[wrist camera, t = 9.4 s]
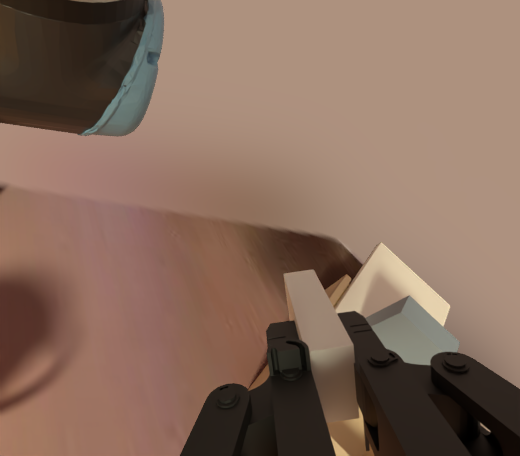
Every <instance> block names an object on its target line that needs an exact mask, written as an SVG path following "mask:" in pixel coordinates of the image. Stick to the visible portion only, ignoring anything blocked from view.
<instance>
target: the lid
mask: <svg viewBox="0 0 520 456" xmlns="http://www.w3.org/2000/svg"><path fill="white" fill-rule="evenodd" d="M334 309H335V311H336V313H343V312H350V311H356V312H358V313H359V314H361V315H363V316H364V317H365V319H366V320H367V322H368V323H369V325H370V326H371V327H372V329H373V331H374V332H375V333H376V335H377V336H378V338H379V339H380V341H381V342H382V344H383V345H384V347H385V348H386V349H389V350H391V351H393V352H396V353H397V354H398V355H399V356H400V357H401V358H402V359H403V361H404V362H406V363H411V364H420V365H430V360H431V358H432V357H433V356H434V355H436V354H437V353H441V352H457V351H458V347H459V344H460V342H459V341H458V340H456V338H455V337H454V336H453V335H451V334H450V333H449V332H448V331H447V330H446V329H445V328H444V327H443V326H444V323H445V321H446V318H447V315H448V312H449V309H450V305H449V304H448V303H447V302H446V301H445V300H444V299H442V298H441V297H440V296H439V295H438V294H437V293H436V292H435V291H434V290H433V289H431V288H430V287H429V286H428V285H427V284H426V283H425V282H424V281H423V280H422V279H421V278H420V277H419V276H417V275H416V274H415V273H414V272H413V271H412V270H411V269H410V268H409V267H408V266H407V265H406V264H405V263H403V262H402V261H401V260H400V259H399V258H398V257H397V256H396V255H395V254H394V253H393V252H391V251H390V250H389V249H388V248H387V247H386V246H385V245H384V244H383V243H382V242H380V243H379V244H378V245H376V247H375V249H374V250H373V251H372V253H371V254H370V256H369V257H368V259H367V260H366V261H365V263H364V264H363V266H362V267H361V269H360V270H359V272H358V273H357V275H356V276H355V278H354V279H353V281H352V282H351V284H350V285H349V286H348V288H347V289H346V291H345V292H344V294H343V295H342V297H341V298H340V300H339V301H338V303H337V304H336V306H335V307H334Z"/></svg>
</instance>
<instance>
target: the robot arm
mask: <svg viewBox="0 0 520 456" xmlns="http://www.w3.org/2000/svg"><path fill="white" fill-rule="evenodd" d="M163 32H164V13H163V6H162V3H161V0H0V123H6V124H13V125H20V126H27V127H34V128H41V129H48V130H56V131H62V132H69V133H76V134H78V135H85V136H87V135H91V134H95V135H108V136H124V135H127V134H129V133H131V132H133V131H134V130H135V129H136V128H137V127H138V126H139V124H140V123H141V121H142V119H143V117H144V115H145V113H146V111H147V108H148V105H149V103H150V99H151V96H152V93H153V89H154V86H155V82H156V77H157V72H158V65H157V62H158V60H159V57H160V53H161V49H162V42H163ZM284 281H285V289H286V297H287V305H288V312H289V320H290V321H286V322H279V323H272V324H270V325H269V327H268V329H267V331H266V334H267V344H268V349H267V359H268V366H269V373H270V374H269V377H268V378H267V380H266V381H265V382H264V383H263V384H261V385H260V386H258V387H256V388H254V389H252V390H249V391H248V390H247V388H246V387H244V386H242V385H240V384H234V383H233V384H225V385H223V386H220V387H218V388H216V389H215V390H214V391H212V392H211V393H210V395H209V396H208V397H207V399H206V401H205V403H204V405H203V407H202V410H201V412H200V414H199V416H198V418H197V420H196V422H195V425H194V427H193V429H192V431H191V433H190V435H189V437H188V439H187V442H186V444H185V446H184V448H183V450H182V452H181V454H180V456H336V454H335V450H334V447H333V443H332V440H331V436H330V433H329V430H328V426H327V423H330V422H337V421H344V420H351V419H358V418H359V408H360V410H361V412H362V415H363V422H364V436H365V447H366V451H370V448H369V443H370V446H371V448H372V451H373V453H374V456H520V389H519V388H517V387H516V386H514V385H513V384H511V383H510V382H508V381H507V380H505V379H503V378H502V377H500V376H499V375H497V374H496V373H494V372H493V371H491V370H490V369H488V368H487V367H485V366H484V365H482V364H481V363H479V362H477V361H476V360H474V359H473V358H471V357H469V356H466V355H464V354H460V353H457V352H441V353H437V354H436V355H434V356H433V357H432V358H431V360H430V365H420V364H411V363H406V362H404V361H403V359H402V358H401V357H400V356H399V355H398V354H397V353H396V352H393V351H391V350H389V349H386V348H385V347H384V345H383V344H382V342H381V341H380V339H379V338H378V336H377V335H376V333H375V332H374V331H373V329H372V327H371V326H370V325H369V323H368V322H367V320H366V319H365V317H364V316H363V315H361V314H359V313H358V312H356V311H350V312H343V313H336V311H335V309H334V307H333V305H332V303H331V301H330V300H329V298H328V296H327V294H326V292H325V290H324V288H323V286H322V284H321V283H320V281H319V279H318V277H317V275H316V273H315V271H314V269H313V270H306V271H299V272H291V273H284ZM358 405H359V407H358ZM480 423H482V424H483V425H484V426H485V427H486V428H487V429H489V430H490V431H491V432H489V431H488V430H486V429H485V428H484V427H482V426H481V425H480Z"/></svg>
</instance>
